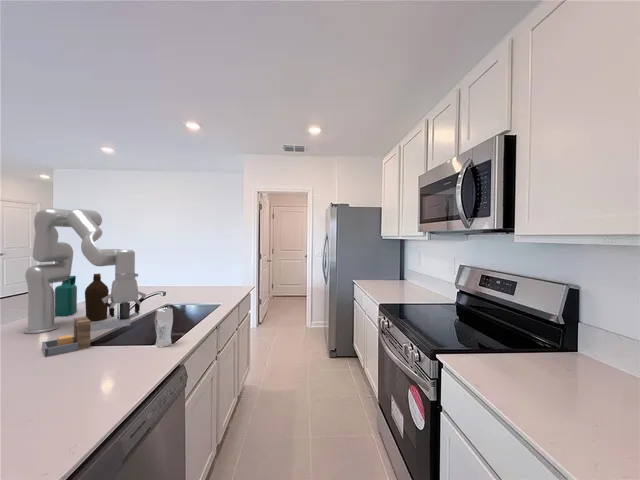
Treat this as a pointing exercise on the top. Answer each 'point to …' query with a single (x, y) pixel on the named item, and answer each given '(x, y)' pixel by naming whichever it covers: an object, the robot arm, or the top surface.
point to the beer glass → (163, 326)
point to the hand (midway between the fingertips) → (124, 314)
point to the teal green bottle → (66, 297)
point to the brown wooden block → (82, 332)
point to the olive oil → (96, 299)
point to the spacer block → (64, 340)
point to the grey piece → (122, 321)
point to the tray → (57, 348)
